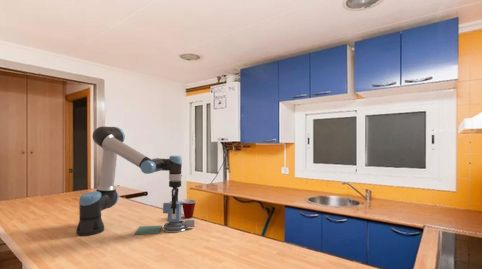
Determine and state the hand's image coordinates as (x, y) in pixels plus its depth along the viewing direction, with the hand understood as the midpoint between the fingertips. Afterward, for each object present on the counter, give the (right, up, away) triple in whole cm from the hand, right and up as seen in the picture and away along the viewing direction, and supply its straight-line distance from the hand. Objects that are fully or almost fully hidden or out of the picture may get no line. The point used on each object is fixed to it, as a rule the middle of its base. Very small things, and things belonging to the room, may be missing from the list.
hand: (174, 216), depth 173 cm
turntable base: (+1, -7, 0) cm, 7 cm away
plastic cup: (+4, -8, +25) cm, 26 cm away
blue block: (-1, -2, 0) cm, 2 cm away
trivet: (-15, -8, -3) cm, 17 cm away
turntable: (+3, -6, 0) cm, 7 cm away
